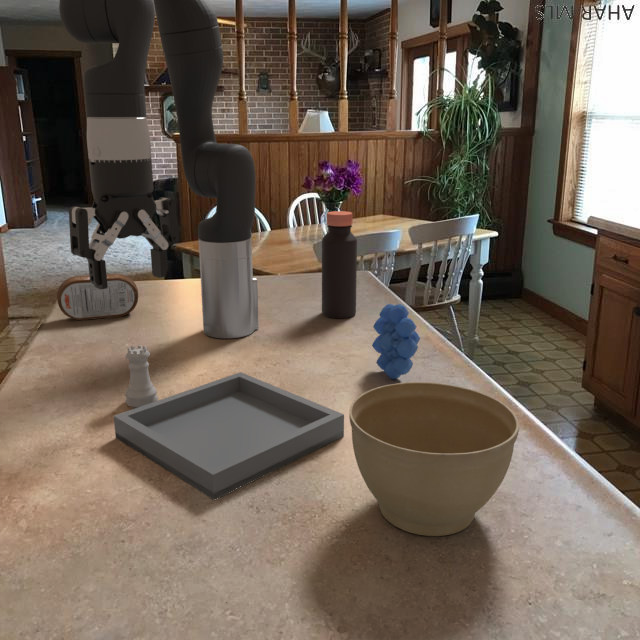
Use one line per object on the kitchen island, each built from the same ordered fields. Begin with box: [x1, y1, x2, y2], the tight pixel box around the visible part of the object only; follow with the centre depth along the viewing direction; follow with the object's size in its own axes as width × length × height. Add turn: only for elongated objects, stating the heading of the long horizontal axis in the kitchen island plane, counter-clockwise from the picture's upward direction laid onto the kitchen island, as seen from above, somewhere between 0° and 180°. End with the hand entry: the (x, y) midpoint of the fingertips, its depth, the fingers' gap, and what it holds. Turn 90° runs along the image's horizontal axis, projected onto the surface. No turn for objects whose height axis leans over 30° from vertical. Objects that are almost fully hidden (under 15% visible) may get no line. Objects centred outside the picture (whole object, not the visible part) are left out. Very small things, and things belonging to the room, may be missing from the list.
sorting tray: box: [113, 371, 345, 501], centre depth 84 cm, size 20×20×3 cm
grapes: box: [371, 303, 421, 380], centre depth 101 cm, size 12×7×12 cm, turn 19°
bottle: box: [321, 210, 358, 319], centre depth 131 cm, size 7×7×20 cm
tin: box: [56, 273, 139, 321], centre depth 131 cm, size 15×3×8 cm, turn 108°
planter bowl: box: [348, 381, 520, 537], centre depth 67 cm, size 16×16×11 cm
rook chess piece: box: [124, 344, 159, 409], centre depth 93 cm, size 4×4×8 cm
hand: (130, 282), depth 89 cm, fingers open, 8 cm apart
